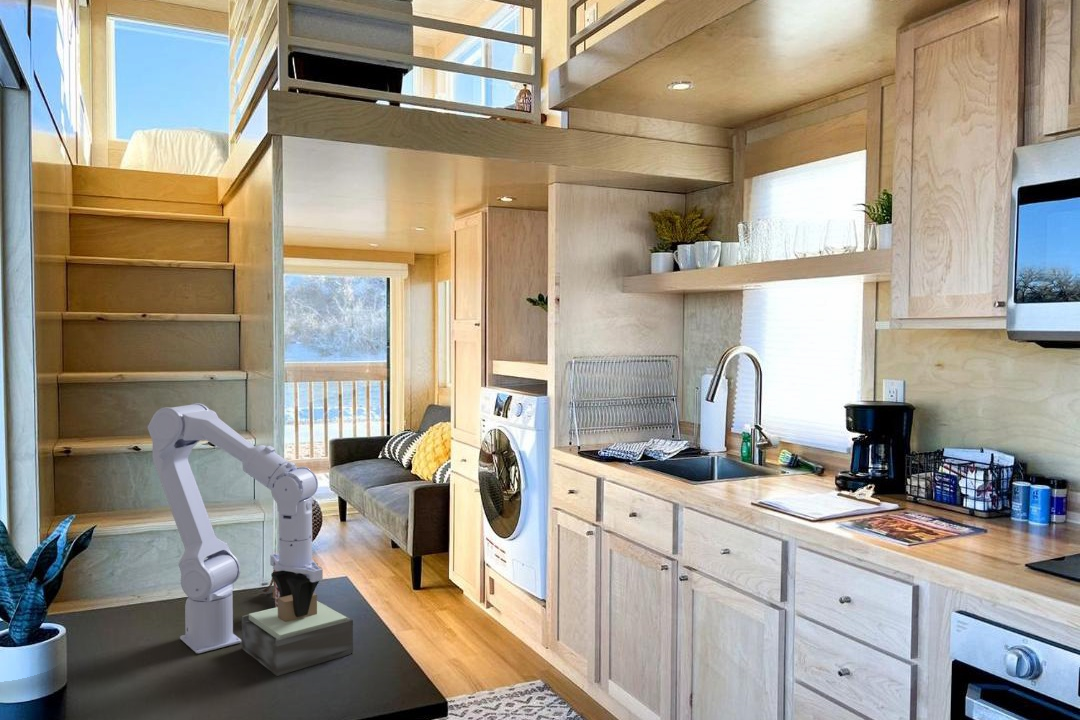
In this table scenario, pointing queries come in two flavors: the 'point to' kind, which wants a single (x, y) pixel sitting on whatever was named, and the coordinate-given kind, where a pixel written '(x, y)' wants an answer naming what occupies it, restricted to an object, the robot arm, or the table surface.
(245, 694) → the table surface
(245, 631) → the box
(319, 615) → the lid
